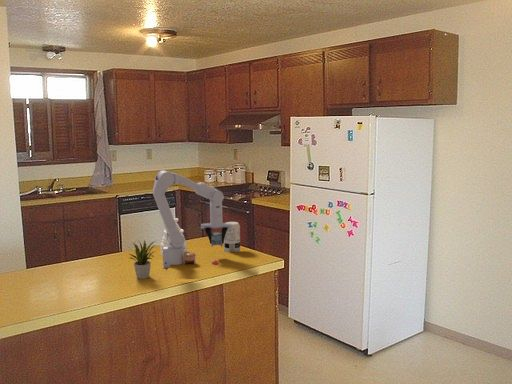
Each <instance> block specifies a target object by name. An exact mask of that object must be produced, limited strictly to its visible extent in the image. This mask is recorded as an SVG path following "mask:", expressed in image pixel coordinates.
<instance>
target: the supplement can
mask: <svg viewBox="0 0 512 384" xmlns="http://www.w3.org/2000/svg"><path fill="white" fill-rule="evenodd" d="M225 223H228V224H232V229H230V228H228V229H227V232H226V234H225V238H224V244H223V252H224V253H225V252H226V253H229V252H230V253H232V252H233V253H234V252H235V253H236V252H241V225H240V224H239V222H238V221H226V222H225Z"/></svg>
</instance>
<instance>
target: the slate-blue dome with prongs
mask: <svg viewBox="0 0 512 384" xmlns="http://www.w3.org/2000/svg"><path fill="white" fill-rule="evenodd" d="M210 245H211V247H212V248H213V246H220V247H221V248H222V247H224V244H222V232H213V233H212V234H211V244H210Z"/></svg>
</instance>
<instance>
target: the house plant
mask: <svg viewBox="0 0 512 384" xmlns="http://www.w3.org/2000/svg"><path fill="white" fill-rule="evenodd" d="M155 242H157V240H154V241H151V243H149V245H148V246H147V242H146V240H144V241H143V245H142V243H141V241H138V243H139V246H138V245H137V244H136V243H135V242H132V244H133V246H134V253H135V255H134V254H132V253H128V255H130V257H129V259H131V260H134V261H135V262H134V263H133V267H134V272H135V276H136V279H138V280H144V279H148V278H149V277H150V272H151V261H150V260H153V258H154V257H155V255H154V252H156V250H154V251H152V249H154V247H157V244H154V243H155ZM153 244H154V245H153ZM125 247H127V248H128V246H126V245H125ZM139 247H140V248H139ZM150 247H151V248H150ZM129 249H130V250H132V248H131V247H129ZM151 251H152V252H151Z"/></svg>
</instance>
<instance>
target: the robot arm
mask: <svg viewBox="0 0 512 384" xmlns="http://www.w3.org/2000/svg"><path fill="white" fill-rule="evenodd" d="M177 184H181V185H184V186H185V187H187V188H190V189H192V190H194V192H195V194H196V195H198V196H201V197H203V198H204V199H207V200H209V217H210V219H209V220H210V222H209V223H208V222H207V223H201V224H200V229H201V230H203V229H204V230H205V232H206V236H207V237H208V240H209V244H210V245H211V234H212V231H213V230H212V229H221V233H222V244H223V245H224V238H225V234H226V232H227V229H228V228H230V229H232V224H228V223H226V222H223V221H224V219H223V201H224V198H225V197H224V193H223V192H222V191H221V190H219V189H217V188H216V187H214V186H210V185H208V184H207V183H206V182H205V181H203V182H201V181H200V182H195V181H193V180H191V179H189V178H187V177H185V176H183V175H181V174H178V173H175V172H172V171H168V170H167V169H166V170H165V169H160V170H159V171H158V172H157V174H156V175H155V177H154V182H153V187H152V196H153V198H154V201H155V203H156V205H157V208H158V211H159V213H160V216H161V219H162V222H163V224H164V227H165V230H166V232H167V240H168V242H169V244H168V247H164V248H163V256H162V265H163V266H162V268H163V269H165V268H166V269H169V268H170V267H171V265H174V266H176V265H177V266H178V265H182V264H183V265H184V254H185V252H184V245H183V244H184V242H185V241H186V239H185V240H184V238H185V236H184V237H183V236H182V235H181V234H180V232H179V230H178V228H177V226H176V223H175V221H174V218H175V217H174V216H173V213H172V210H171V208H170V204H169V202H168V200H167V197H166V192H167V191H168V189H169V188H170V187H172V185H177Z"/></svg>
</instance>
